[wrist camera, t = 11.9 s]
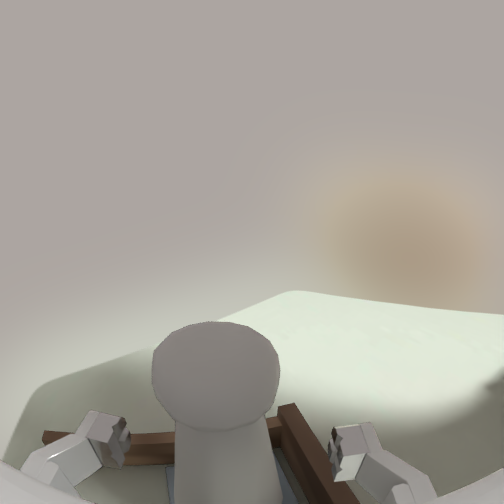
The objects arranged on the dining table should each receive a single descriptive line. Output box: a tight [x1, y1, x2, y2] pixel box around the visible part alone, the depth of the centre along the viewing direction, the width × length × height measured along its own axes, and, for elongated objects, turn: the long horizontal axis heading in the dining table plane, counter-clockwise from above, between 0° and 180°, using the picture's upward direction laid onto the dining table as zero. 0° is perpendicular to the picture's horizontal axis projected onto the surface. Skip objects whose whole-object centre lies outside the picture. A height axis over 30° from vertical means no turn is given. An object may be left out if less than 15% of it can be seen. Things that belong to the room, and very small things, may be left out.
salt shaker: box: [152, 322, 283, 504], centre depth 11 cm, size 6×6×13 cm
